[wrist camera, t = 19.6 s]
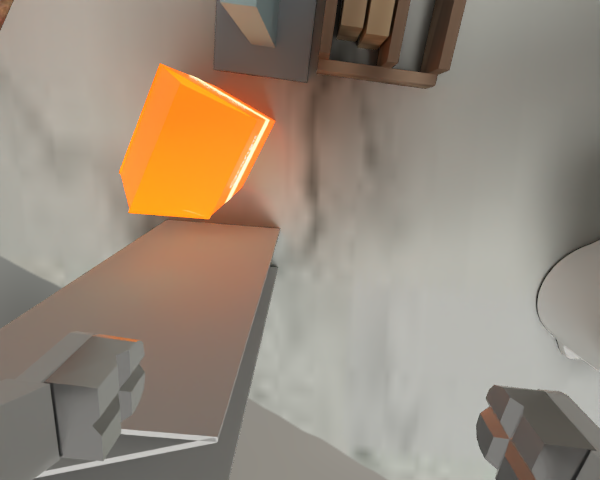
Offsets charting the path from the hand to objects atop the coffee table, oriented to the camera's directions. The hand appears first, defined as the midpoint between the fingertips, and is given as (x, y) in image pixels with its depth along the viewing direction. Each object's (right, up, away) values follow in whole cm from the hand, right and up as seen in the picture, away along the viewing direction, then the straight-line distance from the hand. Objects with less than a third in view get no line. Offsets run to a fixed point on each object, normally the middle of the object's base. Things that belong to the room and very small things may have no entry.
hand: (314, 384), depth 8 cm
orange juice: (-8, +15, +31) cm, 36 cm away
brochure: (-10, +3, +36) cm, 37 cm away
